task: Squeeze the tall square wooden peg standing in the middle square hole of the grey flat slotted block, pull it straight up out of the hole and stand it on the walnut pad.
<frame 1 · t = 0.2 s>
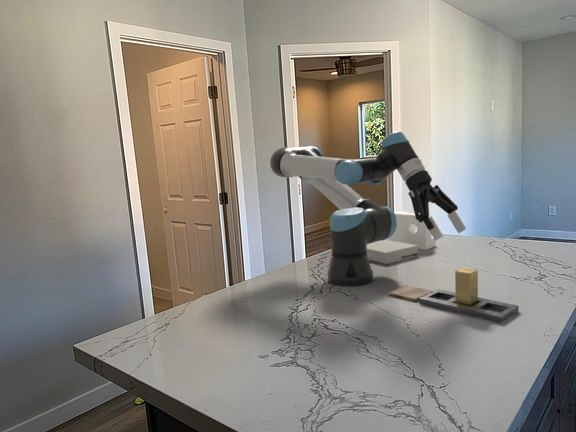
hand: (451, 234, 131), 16 cm above the counter, tool tilted 35°, fingers open, 13 cm apart
disc drive: (381, 256, 177), on the counter
walnut pad: (410, 294, 128), on the counter
grey flat slotted block: (466, 307, 115), on the counter
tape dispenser: (414, 245, 192), on the counter
square wooden peg: (466, 289, 115), in the grey flat slotted block
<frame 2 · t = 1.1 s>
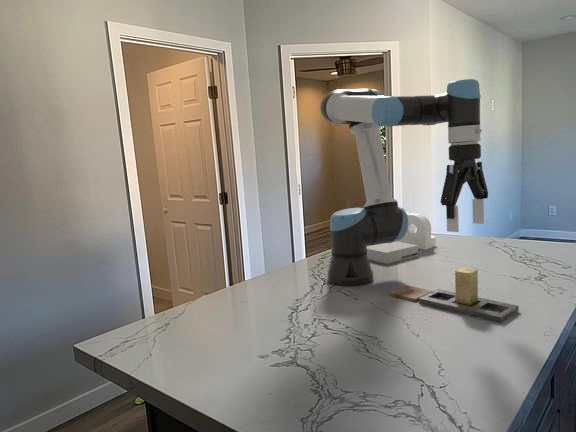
hand: (466, 227, 113), 21 cm above the counter, tool pointing down, fingers open, 13 cm apart
nothing on the counter moved.
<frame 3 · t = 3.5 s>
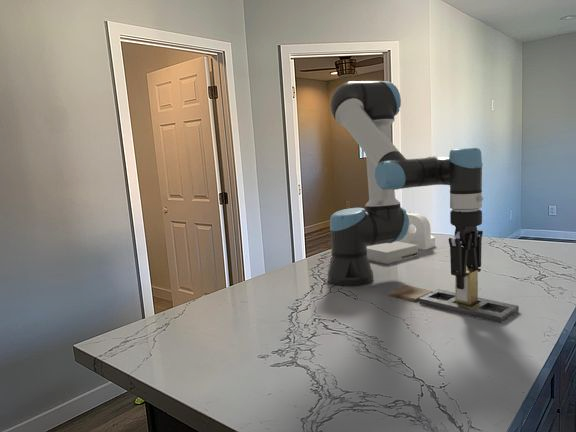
hand: (466, 297, 115), 3 cm above the counter, tool pointing down, fingers closed on square wooden peg, 4 cm apart
square wooden peg: (466, 289, 115), in the grey flat slotted block, touching gripper
everything else where it was.
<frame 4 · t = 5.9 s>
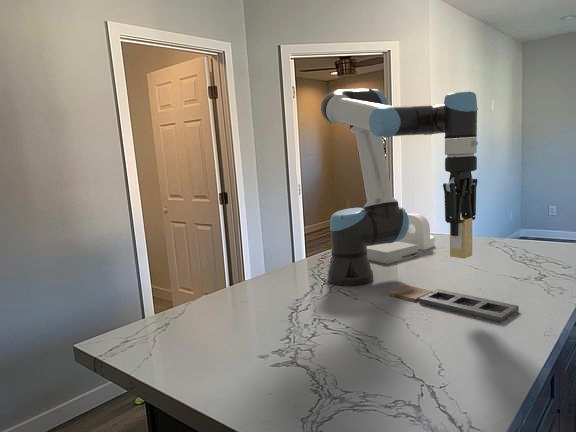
hand: (460, 245, 114), 16 cm above the counter, tool pointing down, fingers closed on square wooden peg, 4 cm apart
square wooden peg: (461, 237, 114), point 19 cm above the counter, touching gripper
everything else where it was.
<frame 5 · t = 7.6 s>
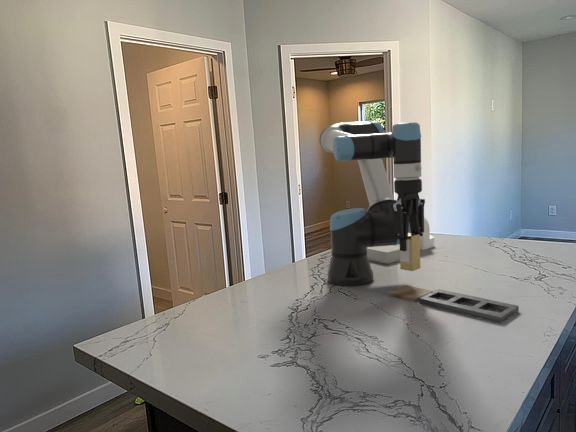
hand: (410, 259, 127), 10 cm above the counter, tool pointing down, fingers closed on square wooden peg, 4 cm apart
square wooden peg: (409, 251, 126), point 13 cm above the counter, touching gripper
everything else where it was.
when the fingers open (5 cm above the counter, at t = 8.7 s): square wooden peg drops 1 cm, resting on walnut pad.
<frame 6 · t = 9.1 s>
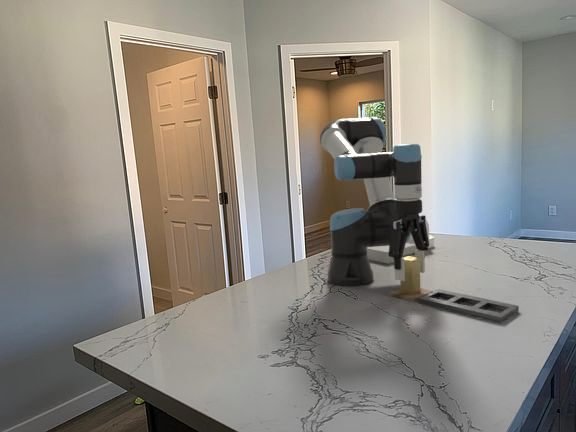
hand: (410, 275, 127), 6 cm above the counter, tool pointing down, fingers open, 9 cm apart
square wooden peg: (410, 275, 127), on the walnut pad, point 6 cm above the counter
everything else where it was.
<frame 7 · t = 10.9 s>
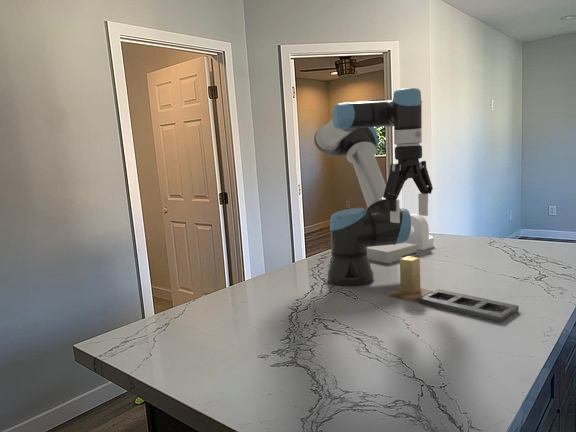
hand: (409, 218, 128), 22 cm above the counter, tool pointing down, fingers open, 13 cm apart
nothing on the counter moved.
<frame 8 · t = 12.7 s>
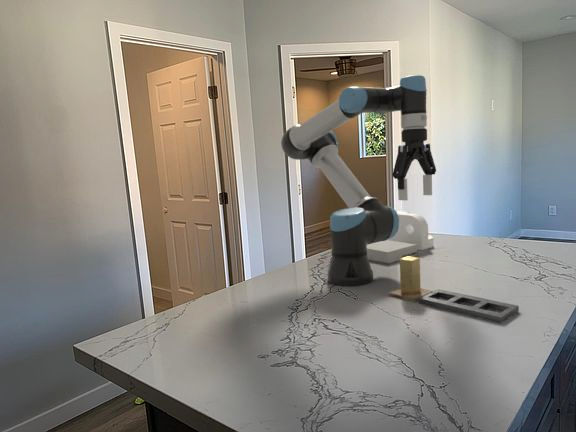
hand: (415, 197, 137), 27 cm above the counter, tool pointing down, fingers open, 13 cm apart
nothing on the counter moved.
at the end: square wooden peg inside the target area (0.0 cm from its centre), point 5.8 cm above the counter; square wooden peg tilted 0°; the gripper is holding nothing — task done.
